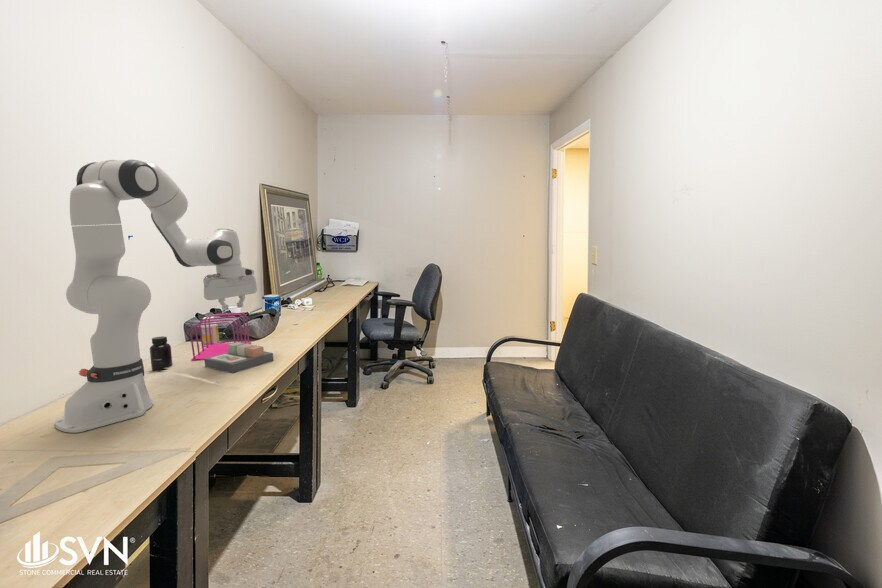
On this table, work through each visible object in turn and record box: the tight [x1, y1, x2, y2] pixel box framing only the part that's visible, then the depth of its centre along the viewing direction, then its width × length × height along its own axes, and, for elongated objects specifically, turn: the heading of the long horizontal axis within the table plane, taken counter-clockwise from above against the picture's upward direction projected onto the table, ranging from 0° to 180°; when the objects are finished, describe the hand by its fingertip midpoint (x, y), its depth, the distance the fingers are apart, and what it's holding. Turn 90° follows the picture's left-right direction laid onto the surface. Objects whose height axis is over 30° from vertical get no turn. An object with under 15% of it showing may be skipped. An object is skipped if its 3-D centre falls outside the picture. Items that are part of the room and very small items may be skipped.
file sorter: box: [189, 312, 252, 362], centre depth 194 cm, size 17×25×16 cm
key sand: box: [237, 343, 255, 356], centre depth 177 cm, size 4×4×4 cm
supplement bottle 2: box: [201, 316, 220, 348], centre depth 209 cm, size 7×7×13 cm
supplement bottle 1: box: [149, 335, 173, 372], centre depth 174 cm, size 7×7×12 cm
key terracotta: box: [246, 344, 265, 358], centre depth 174 cm, size 4×4×4 cm
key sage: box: [228, 341, 245, 354], centre depth 180 cm, size 4×4×4 cm
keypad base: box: [203, 350, 274, 374], centre depth 175 cm, size 17×17×4 cm
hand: (233, 308), depth 178 cm, fingers open, 5 cm apart
